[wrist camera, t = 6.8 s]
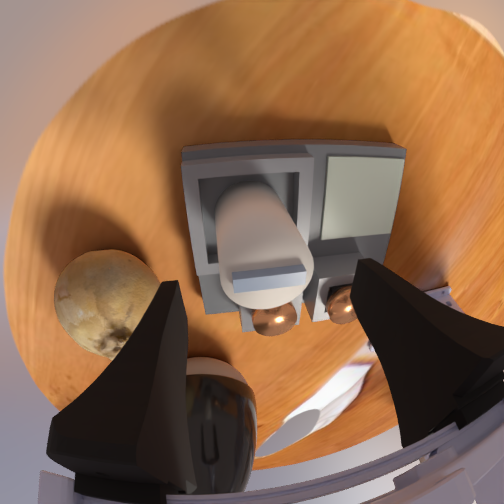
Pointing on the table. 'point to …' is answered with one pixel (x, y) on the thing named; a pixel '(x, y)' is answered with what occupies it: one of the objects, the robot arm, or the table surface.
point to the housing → (298, 206)
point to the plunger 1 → (274, 319)
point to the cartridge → (259, 248)
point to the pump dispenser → (220, 426)
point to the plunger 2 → (340, 305)
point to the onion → (104, 299)
